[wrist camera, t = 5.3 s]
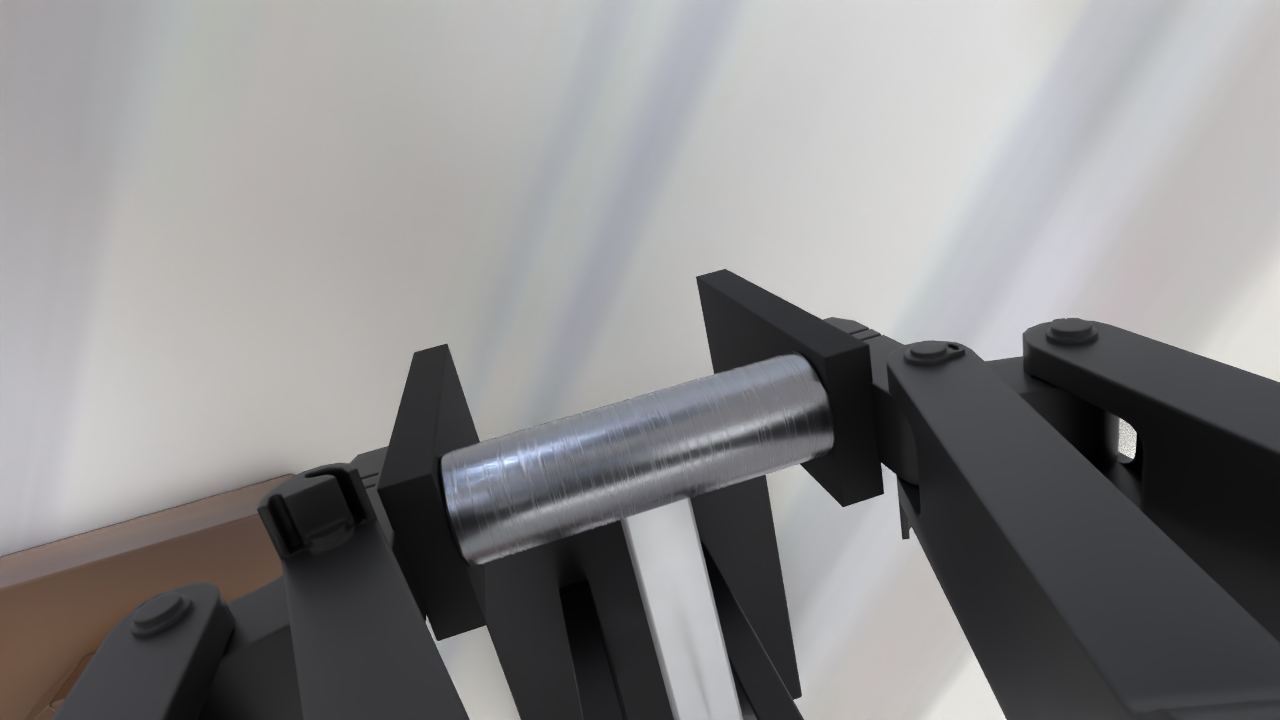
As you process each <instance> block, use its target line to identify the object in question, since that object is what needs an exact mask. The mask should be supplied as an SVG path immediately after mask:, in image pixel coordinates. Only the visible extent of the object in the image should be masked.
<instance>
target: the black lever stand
mask: <svg viewBox="0 0 1280 720" xmlns="http://www.w3.org/2000/svg"><path fill="white" fill-rule="evenodd" d="M690 501H691V505H692V509H693V513H694V518H695V522H696V526H697V530H698V534H699V538H700V543H701V547H702V551H703V555H704V559H705V563H706V567H707V572H708V576H709V580H710V584H711V588H712V592H713V596H714V601H715V605H716V609H717V613H718V617H719V621H720V626H721V630H722V634H723V638H724V642H725V646H726V650H727V655H728V659H729V663H730V667H731V671H732V675H733V679H734V684H735V688H736V692H737V696H738V700H739V704H740V709H741V713H742V717H743V720H804V719H803V717H802V715H801V713H800V712H799V710H798V708H797V706H796V705H795V703H794V701H793V700H794V699H797V698H800V697H801V696H802V693H801V687H800V681H799V675H798V669H797V663H796V657H795V651H794V645H793V639H792V633H791V627H790V621H789V614H788V608H787V602H786V596H785V590H784V584H783V578H782V572H781V566H780V560H779V554H778V548H777V542H776V536H775V530H774V523H773V517H772V511H771V505H770V499H769V493H768V487H767V481H766V475H762V476H759V477H755V478H752V479H749V480H746V481H743V482H740V483H736V484H733V485H730V486H727V487H724V488H721V489H717V490H714V491H711V492H708V493H705V494H702V495H699V496H695V497H692V498H690ZM484 565H485V603H486V625H487V628H488V631H489V633H490V636H491V639H492V642H493V644H494V647H495V650H496V653H497V655H498V658H499V661H500V663H501V666H502V669H503V672H504V674H505V677H506V680H507V683H508V685H509V688H510V691H511V693H512V696H513V699H514V702H515V704H516V707H517V710H518V713H519V715H520V718H521V720H674V718H673V714H672V710H671V706H670V703H669V699H668V695H667V692H666V688H665V684H664V680H663V677H662V673H661V669H660V666H659V662H658V658H657V654H656V651H655V647H654V643H653V639H652V636H651V632H650V628H649V625H648V621H647V617H646V613H645V610H644V606H643V602H642V599H641V595H640V591H639V587H638V584H637V580H636V576H635V573H634V569H633V565H632V561H631V558H630V554H629V550H628V546H627V543H626V539H625V535H624V532H623V528H622V524H621V520H620V521H616V522H613V523H610V524H607V525H604V526H601V527H597V528H594V529H591V530H588V531H585V532H582V533H579V534H575V535H572V536H569V537H566V538H563V539H560V540H556V541H553V542H550V543H547V544H544V545H541V546H537V547H534V548H531V549H528V550H525V551H522V552H519V553H515V554H512V555H509V556H506V557H503V558H500V559H496V560H493V561H490V562H487V563H484Z"/></svg>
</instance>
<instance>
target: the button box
mask: <svg viewBox="0 0 1280 720" xmlns="http://www.w3.org/2000/svg"><path fill="white" fill-rule="evenodd" d="M292 477H294V475H293V474H289V475H286V476H282V477H279V478H275V479H272V480H268V481H265V482H261V483H258V484H254V485H251V486H247V487H244V488H240V489H237V490H233V491H230V492H226V493H223V494H219V495H216V496H212V497H209V498H205V499H202V500H198V501H195V502H192V503H188V504H185V505H181V506H178V507H174V508H171V509H167V510H164V511H160V512H157V513H153V514H150V515H146V516H143V517H139V518H136V519H132V520H129V521H125V522H122V523H118V524H115V525H111V526H108V527H104V528H101V529H97V530H94V531H90V532H87V533H83V534H80V535H76V536H73V537H69V538H66V539H62V540H59V541H55V542H52V543H48V544H45V545H41V546H38V547H34V548H31V549H27V550H24V551H20V552H17V553H13V554H10V555H6V556H3V557H0V720H52V718H53V717H54V715H55V714H56V712H57V711H58V709H59V708H60V706H61V704H62V703H63V701H64V700H65V698H66V697H67V695H68V694H69V692H70V691H71V689H72V688H73V686H74V684H75V683H76V681H77V680H78V678H79V677H80V675H81V674H82V672H83V671H84V669H85V667H86V666H87V664H88V663H89V661H90V660H91V658H92V657H93V655H94V654H95V652H96V651H97V649H98V647H99V646H100V644H101V643H102V641H103V640H104V638H105V637H106V635H107V634H108V633H109V632H110V631H111V630H112V629H113V628H114V626H115V625H116V624H117V623H118V622H119V621H120V620H122V619H123V618H124V617H126V616H127V615H128V614H129V613H131V612H132V611H133V610H134V608H135V607H136V606H138V605H139V604H141V603H142V602H144V601H146V600H148V601H149V600H151V599H150V598H151V597H153V596H155V595H157V594H159V593H161V592H168V591H170V590H173V589H175V588H177V587H180V586H184V585H188V584H193V583H197V582H207V583H213V584H214V585H215V586H217V587H218V588H219V590H220V592H221V593H222V595H223V597H224V599H225V601H226V603H228V602H230V601H232V600H235V599H237V598H239V597H241V596H243V595H245V594H247V593H249V592H251V591H254V590H256V589H258V588H260V587H262V586H264V585H266V584H268V583H269V582H271V581H273V580H275V579H277V578H278V577H280V576H281V575H283V573H282V566H281V560H280V557H279V555H278V553H277V551H276V549H275V547H274V545H273V543H272V541H271V539H270V536H269V534H268V532H267V530H266V528H265V526H264V524H263V522H262V520H261V518H260V516H259V513H258V511H257V507H258V504H259V502H260V500H261V499H262V498H263V497H264V496H265V495H266V494H267V493H268V492H269V491H270V490H272V489H273V488H275V487H276V486H278V485H279V484H281V483H282V482H284V481H285V480H287V479H290V478H292Z"/></svg>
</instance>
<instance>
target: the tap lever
mask: <svg viewBox="0 0 1280 720" xmlns="http://www.w3.org/2000/svg"><path fill="white" fill-rule="evenodd" d="M835 438H836V428H835V419H834V414H833V409H832V405H831V402H830V399H829V395H828V393H827V390H826V388H825V385H824V383H823V381H822V379H821V377H820V375H819V373H818V372H817V370H816V368H815V367H814V365H813V364H812V363H811V362H810V360H809V359H808V358H807V357H805V356H804V355H803V354H801V353H798V352H789V353H785V354H782V355H779V356H775V357H772V358H768V359H765V360H761V361H758V362H755V363H751V364H748V365H744V366H741V367H737V368H734V369H730V370H727V371H724V372H720V373H717V374H713V375H710V376H706V377H703V378H700V379H696V380H693V381H689V382H686V383H682V384H679V385H675V386H672V387H669V388H665V389H662V390H658V391H655V392H651V393H648V394H645V395H641V396H638V397H634V398H631V399H627V400H624V401H620V402H617V403H614V404H610V405H607V406H603V407H600V408H596V409H593V410H590V411H586V412H583V413H579V414H576V415H572V416H569V417H565V418H562V419H559V420H555V421H552V422H548V423H545V424H541V425H538V426H534V427H531V428H528V429H524V430H521V431H517V432H514V433H510V434H507V435H504V436H500V437H497V438H493V439H490V440H486V441H483V442H479V443H476V444H473V445H469V446H466V447H462V448H459V449H455V450H452V451H449V452H445V453H443V454H442V455H441V456H440V458H439V467H438V470H439V482H440V489H441V494H442V500H443V504H444V508H445V512H446V516H447V520H448V523H449V527H450V530H451V533H452V536H453V539H454V541H455V544H456V546H457V549H458V551H459V553H460V555H461V557H462V558H463V560H464V561H465V563H466V564H467V565H468V566H472V567H474V566H477V565H481V564H484V563H487V562H490V561H493V560H496V559H500V558H503V557H506V556H509V555H512V554H515V553H519V552H522V551H525V550H528V549H531V548H534V547H537V546H541V545H544V544H547V543H550V542H553V541H556V540H560V539H563V538H566V537H569V536H572V535H575V534H579V533H582V532H585V531H588V530H591V529H594V528H597V527H601V526H604V525H607V524H610V523H613V522H616V521H620V520H621V524H622V528H623V532H624V535H625V539H626V543H627V546H628V550H629V554H630V558H631V561H632V565H633V569H634V573H635V576H636V580H637V584H638V587H639V591H640V595H641V599H642V602H643V606H644V610H645V613H646V617H647V621H648V625H649V628H650V632H651V636H652V639H653V643H654V647H655V651H656V654H657V658H658V662H659V666H660V669H661V673H662V677H663V680H664V684H665V688H666V692H667V695H668V699H669V703H670V706H671V710H672V714H673V718H674V720H743V717H742V713H741V709H740V704H739V700H738V696H737V692H736V688H735V684H734V679H733V675H732V671H731V667H730V663H729V659H728V655H727V650H726V646H725V642H724V638H723V634H722V630H721V626H720V621H719V617H718V613H717V609H716V605H715V601H714V596H713V592H712V588H711V584H710V580H709V576H708V572H707V567H706V563H705V559H704V555H703V551H702V547H701V543H700V538H699V534H698V530H697V526H696V522H695V518H694V513H693V509H692V505H691V501H690V498H692V497H695V496H699V495H702V494H705V493H708V492H711V491H714V490H717V489H721V488H724V487H727V486H730V485H733V484H736V483H740V482H743V481H746V480H749V479H752V478H755V477H759V476H762V475H765V474H768V473H771V472H774V471H777V470H781V469H784V468H787V467H790V466H793V465H796V464H800V463H803V462H806V461H809V460H812V459H815V458H819V457H822V456H825V455H827V454H828V453H829V452H831V451H832V449H833V447H834V444H835Z"/></svg>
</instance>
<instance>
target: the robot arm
mask: <svg viewBox="0 0 1280 720" xmlns="http://www.w3.org/2000/svg"><path fill="white" fill-rule="evenodd" d="M696 279H697V284H698V290H699V295H700V300H701V306H702V311H703V316H704V322H705V327H706V333H707V338H708V343H709V349H710V354H711V359H712V365H713V370H714V374H717V373H720V372H724V371H727V370H730V369H734V368H737V367H741V366H744V365H748V364H751V363H755V362H758V361H761V360H765V359H768V358H772V357H775V356H779V355H782V354H785V353H789V352H798V353H801V354H803V355H804V356H805V357H807V358H808V359H809V360H810V362H811V363H812V364H813V365H814V367H815V368H816V370H817V372H818V373H819V375H820V377H821V379H822V381H823V383H824V385H825V388H826V390H827V393H828V395H829V399H830V402H831V405H832V409H833V414H834V419H835V428H836V438H835V444H834V447H833V449H832V451H831V452H829V453H828V454H827V455H825V456H822V457H819V458H815V459H812V460H809V461H806V462H803V463H800V465H801V466H802V467H803V468H804V469H805V470H806V471H807V472H808V473H809V474H810V475H811V476H812V477H813V478H814V479H815V480H816V481H817V482H818V483H819V484H820V485H821V486H822V487H823V488H824V489H825V490H826V491H827V492H828V493H829V494H830V495H831V496H832V497H833V498H834V499H835V500H836V501H837V502H838V503H839V504H840V505H841V506H842V507H845V506H848V505H851V504H854V503H857V502H861V501H864V500H867V499H870V498H873V497H876V496H879V495H882V494H884V489H883V479H882V469H881V462H882V463H883V464H884V465H885V466H887V467H888V468H889V469H890V470H892V471H893V472H894V473H895V474H896V475H897V486H898V497H899V508H900V519H901V530H902V539H910V538H909V529H910V528H911V527H912V528H913V530H914V532H915V534H916V536H917V538H918V540H919V542H920V544H921V546H922V548H923V550H924V552H925V554H926V556H927V558H928V561H929V563H930V565H931V567H932V569H933V571H934V573H935V575H936V577H937V579H938V581H939V583H940V585H941V587H942V589H943V591H944V593H945V595H946V597H947V599H948V601H949V603H950V605H951V607H952V609H953V611H954V613H955V615H956V617H957V619H958V621H959V624H960V626H961V628H962V630H963V632H964V634H965V636H966V638H967V640H968V642H969V644H970V646H971V648H972V650H973V652H974V654H975V656H976V658H977V660H978V662H979V664H980V666H981V668H982V670H983V672H984V674H985V676H986V678H987V680H988V682H989V684H990V687H991V689H992V691H993V693H994V695H995V697H996V699H997V701H998V703H999V705H1000V707H1001V709H1002V711H1003V713H1004V715H1005V717H1006V719H1007V720H1280V382H1277V381H1274V380H1271V379H1268V378H1265V377H1262V376H1259V375H1256V374H1253V373H1250V372H1247V371H1244V370H1241V369H1239V368H1236V367H1233V366H1230V365H1227V364H1224V363H1221V362H1218V361H1215V360H1212V359H1209V358H1206V357H1203V356H1200V355H1197V354H1194V353H1191V352H1188V351H1186V350H1183V349H1180V348H1177V347H1174V346H1171V345H1168V344H1165V343H1162V342H1159V341H1156V340H1153V339H1150V338H1147V337H1144V336H1141V335H1138V334H1135V333H1133V332H1130V331H1127V330H1124V329H1121V328H1118V327H1115V326H1112V325H1109V324H1104V323H1100V322H1095V321H1085V320H1082V319H1079V318H1067V319H1065V318H1063V319H1055V320H1053V322H1047V323H1042V324H1039V325H1036V326H1033V327H1031V328H1029V329H1028V330H1026V331H1025V332H1024V333H1023V356H1022V357H1014V358H1007V359H1000V360H993V361H985V362H984V361H983V360H982V359H981V358H980V357H979V356H978V355H977V354H976V353H975V352H974V351H973V350H971V349H970V348H968V347H966V346H964V345H962V344H959V343H956V342H945V341H923V342H916V343H912V344H908V345H903V344H901V343H899V342H897V341H895V340H893V339H891V338H889V337H887V336H884V335H882V336H881V334H880V333H878V332H876V331H874V330H872V329H870V330H869V328H868V327H866V326H864V325H862V324H860V323H858V322H856V321H852V320H846V319H840V318H834V317H831V318H828V319H824V320H822V319H820V318H818V317H816V316H814V315H812V314H810V313H808V312H806V311H804V310H802V309H801V308H799V307H797V306H795V305H793V304H791V303H789V302H787V301H785V300H783V299H782V298H780V297H778V296H776V295H774V294H772V293H770V292H768V291H766V290H764V289H763V288H761V287H759V286H757V285H755V284H753V283H751V282H749V281H747V280H745V279H744V278H742V277H740V276H738V275H736V274H734V273H732V272H730V271H728V270H726V269H723V270H720V271H716V272H712V273H708V274H705V275H701V276H697V277H696ZM1120 418H1121V419H1123V420H1124V421H1126V422H1127V423H1129V424H1130V425H1131V426H1132V427H1133V428H1134V430H1135V431H1136V432H1137V440H1136V453H1135V457H1134V459H1132V458H1129V457H1127V456H1125V455H1124V454H1122V453H1120V452H1118V444H1119V419H1120ZM479 442H480V441H479V438H478V435H477V432H476V429H475V426H474V423H473V420H472V417H471V414H470V411H469V408H468V405H467V402H466V399H465V396H464V393H463V390H462V387H461V384H460V381H459V378H458V375H457V372H456V369H455V366H454V363H453V360H452V357H451V353H450V350H449V347H448V344H444V345H440V346H436V347H433V348H429V349H425V350H422V351H418V352H414V355H413V359H412V362H411V366H410V370H409V373H408V377H407V381H406V384H405V388H404V392H403V395H402V399H401V403H400V406H399V410H398V414H397V417H396V421H395V425H394V428H393V432H392V436H391V439H390V443H389V446H387V447H384V448H380V449H377V450H373V451H370V452H366V453H363V454H359V455H358V456H357V457H356V458H355V459H354V460H353V461H352V462H351V463H350V464H347V463H335V464H329V465H324V466H320V467H317V468H314V469H311V470H308V471H305V472H302V473H300V474H298V475H296V476H294V477H292V478H290V479H287V480H285V481H284V482H282V483H281V484H279V485H278V486H276V487H275V488H273V489H272V490H270V491H269V492H268V493H267V494H266V495H265V496H264V497H263V498H262V499H261V500H260V502H259V504H258V507H257V511H258V513H259V516H260V518H261V520H262V522H263V524H264V526H265V528H266V530H267V532H268V534H269V536H270V539H271V541H272V543H273V545H274V547H275V549H276V551H277V553H278V555H279V557H280V560H281V566H282V573H283V575H281V576H280V577H278V578H277V579H275V580H273V581H271V582H269V583H268V584H266V585H264V586H262V587H260V588H258V589H256V590H254V591H251V592H249V593H247V594H245V595H243V596H241V597H239V598H237V599H235V600H232V601H230V602H228V603H226V601H225V599H224V597H223V595H222V593H221V592H220V590H219V588H218V587H217V586H215V585H214V584H213V583H207V582H197V583H193V584H188V585H184V586H180V587H177V588H175V589H173V590H170V591H168V592H161V593H159V594H157V595H155V596H153V597H151V598H150V599H151V600H149V601H148V600H146V601H144V602H142V603H141V604H139V605H138V606H136V607H135V608H134V610H133V611H132V612H131V613H129V614H128V615H127V616H126V617H124V618H123V619H122V620H120V621H119V622H118V623H117V624H116V625H115V626H114V628H113V629H112V630H111V631H110V632H109V633H108V634H107V635H106V637H105V638H104V640H103V641H102V643H101V644H100V646H99V647H98V649H97V651H96V652H95V654H94V655H93V657H92V658H91V660H90V661H89V663H88V664H87V666H86V667H85V669H84V671H83V672H82V674H81V675H80V677H79V678H78V680H77V681H76V683H75V684H74V686H73V688H72V689H71V691H70V692H69V694H68V695H67V697H66V698H65V700H64V701H63V703H62V704H61V706H60V708H59V709H58V711H57V712H56V714H55V715H54V717H53V718H52V720H470V719H469V717H468V715H467V713H466V711H465V708H464V706H463V704H462V702H461V700H460V698H459V695H458V693H457V691H456V689H455V687H454V684H453V682H452V680H451V678H450V676H449V673H448V671H447V669H446V667H445V665H444V663H443V660H442V658H441V656H440V654H439V652H438V649H437V647H436V645H435V643H434V641H433V639H432V636H431V634H430V632H429V630H428V628H427V625H426V614H427V617H428V619H429V622H430V624H431V627H432V629H433V632H434V634H435V637H436V639H437V641H440V640H443V639H446V638H449V637H452V636H455V635H458V634H461V633H464V632H467V631H470V630H473V629H476V628H479V627H482V626H485V625H486V603H485V565H484V564H481V565H477V566H474V567H472V566H468V565H467V564H466V563H465V561H464V560H463V558H462V557H461V555H460V553H459V551H458V549H457V546H456V544H455V541H454V539H453V536H452V533H451V530H450V527H449V523H448V520H447V516H446V512H445V508H444V504H443V500H442V494H441V489H440V482H439V470H438V467H439V458H440V456H441V455H442V454H443V453H445V452H449V451H452V450H455V449H459V448H462V447H466V446H469V445H473V444H476V443H479Z"/></svg>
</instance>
